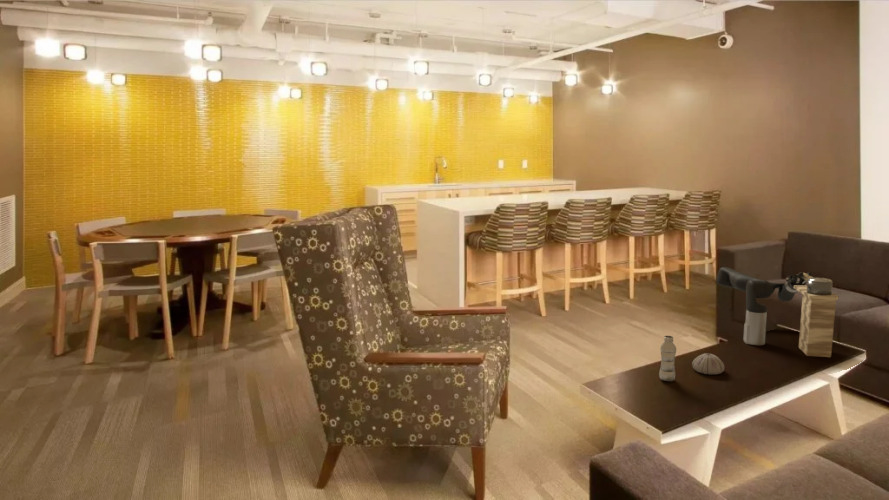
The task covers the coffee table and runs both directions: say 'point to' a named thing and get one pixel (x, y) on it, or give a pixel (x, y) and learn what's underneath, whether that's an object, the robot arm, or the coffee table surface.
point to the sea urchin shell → (708, 364)
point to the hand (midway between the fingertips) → (806, 274)
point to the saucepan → (818, 285)
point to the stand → (816, 323)
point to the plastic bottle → (667, 359)
